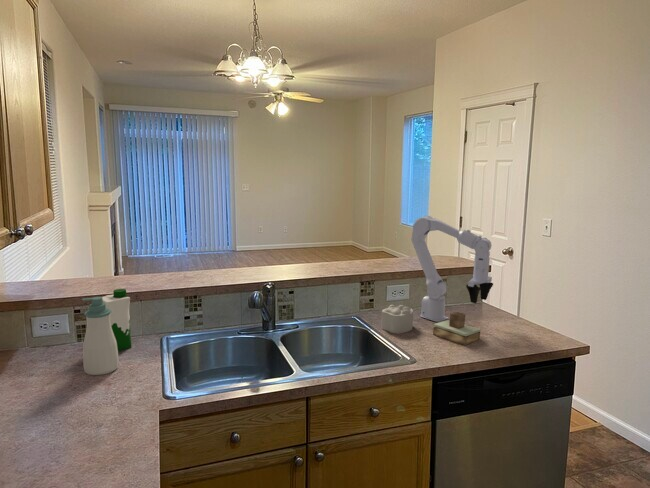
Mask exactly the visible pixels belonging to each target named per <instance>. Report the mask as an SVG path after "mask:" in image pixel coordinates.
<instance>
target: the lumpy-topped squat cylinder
mask: <svg viewBox="0 0 650 488" xmlns="http://www.w3.org/2000/svg"><path fill="white" fill-rule="evenodd" d="M413 321H414V310H413V308H411V307H409V306H405V305H404V304H399V305H398V306H397V305H394V304H390V305H389V306H388V307H386V308H383V309H382V310H381V321H380V322H381V323H380V328H381V329H382V330H383V331H387V332H389V333H391V334H395V333H396V334H404V333H407V332H410V331H412V329H413V326H414V325H413V324H414V323H413Z"/></svg>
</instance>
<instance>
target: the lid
mask: <svg viewBox="0 0 650 488" xmlns="http://www.w3.org/2000/svg"><path fill="white" fill-rule="evenodd" d="M449 323H450V319H446V320H443V321H440V322H436V323H433V327H438V328H441V329H444V330H447V331H450V332H454V333H457V334H460V335H463V336H469V335H471V334H474V333H477V332H480V333H481V328H477V327H474V326H471V325H469V324H465V325H464V327H463V328H460V329H457V328H454V327H451V326H449Z"/></svg>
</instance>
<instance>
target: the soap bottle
mask: <svg viewBox="0 0 650 488" xmlns="http://www.w3.org/2000/svg"><path fill="white" fill-rule="evenodd" d="M102 297H103V296H94V297H89V298H88V297H85V298H81V300H82V302H89V301H91V303H90V304H88V309H87V311H85V312H84V314H83V315H84V316H85V317H86V330H85V335H84V338H83V339H84V340H83V344H82V362H83V371H84V373H86V374H87V375H90V376H103V375H107V374H110V373H112V372H114V371H116V370H117V369H118V367H119V365H120V361H119V360H120V359H119V351H118V348H117V342H116V339H115V336H114V333H113V330H112V327H111V322H110V313H111V310H110V309H108V308H106V304H105V303H103V298H102Z"/></svg>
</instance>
